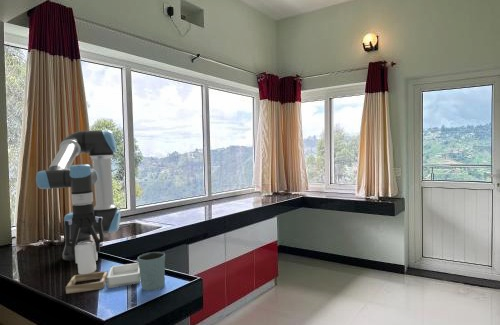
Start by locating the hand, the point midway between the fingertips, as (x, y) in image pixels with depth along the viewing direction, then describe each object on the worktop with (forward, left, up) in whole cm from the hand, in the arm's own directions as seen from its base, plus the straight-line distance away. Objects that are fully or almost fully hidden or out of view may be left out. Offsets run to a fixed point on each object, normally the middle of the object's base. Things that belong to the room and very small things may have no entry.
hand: (86, 260), depth 133 cm
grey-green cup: (+12, +25, -10) cm, 30 cm away
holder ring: (0, 0, -10) cm, 10 cm away
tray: (0, +14, -10) cm, 17 cm away
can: (0, 0, -5) cm, 5 cm away
